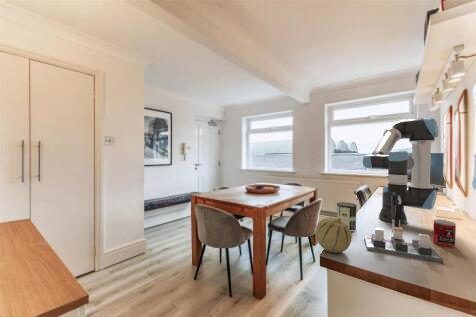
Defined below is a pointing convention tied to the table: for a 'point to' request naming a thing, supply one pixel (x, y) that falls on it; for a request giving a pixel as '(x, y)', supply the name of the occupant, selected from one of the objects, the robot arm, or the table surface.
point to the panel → (410, 249)
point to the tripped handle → (397, 232)
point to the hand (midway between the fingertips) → (395, 232)
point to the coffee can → (347, 214)
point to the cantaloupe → (333, 235)
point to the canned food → (444, 233)
